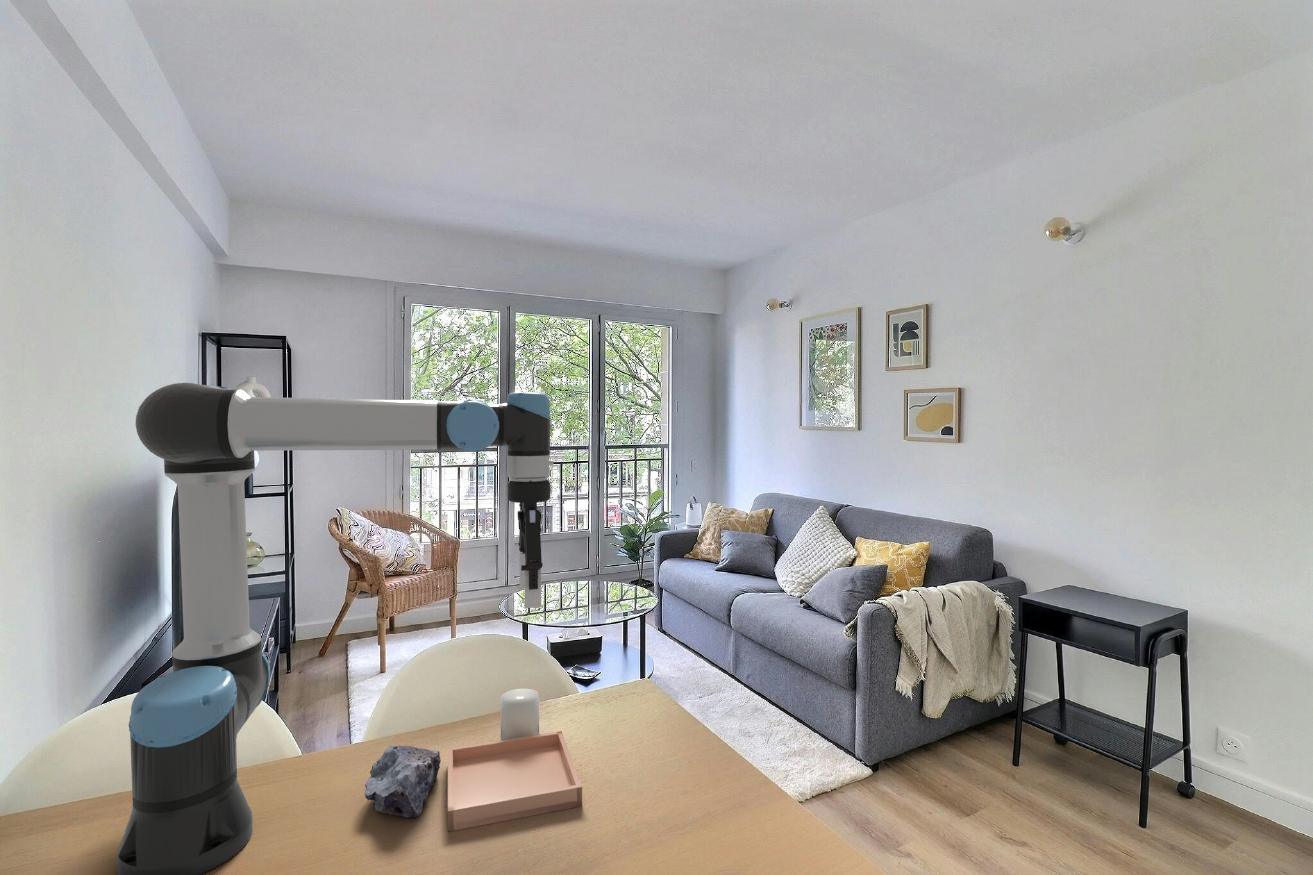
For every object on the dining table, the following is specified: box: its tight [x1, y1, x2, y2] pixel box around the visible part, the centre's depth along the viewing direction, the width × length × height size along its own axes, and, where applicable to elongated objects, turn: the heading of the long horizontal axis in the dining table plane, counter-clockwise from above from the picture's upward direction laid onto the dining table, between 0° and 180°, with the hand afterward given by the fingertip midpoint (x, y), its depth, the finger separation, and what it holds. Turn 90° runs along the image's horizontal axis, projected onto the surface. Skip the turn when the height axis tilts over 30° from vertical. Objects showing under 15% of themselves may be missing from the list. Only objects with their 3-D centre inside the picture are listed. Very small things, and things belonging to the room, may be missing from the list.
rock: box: [364, 744, 442, 819], centre depth 100 cm, size 14×10×10 cm
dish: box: [447, 730, 583, 832], centre depth 104 cm, size 20×19×3 cm
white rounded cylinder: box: [499, 688, 540, 740], centre depth 119 cm, size 7×7×8 cm
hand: (529, 596), depth 115 cm, fingers open, 13 cm apart
